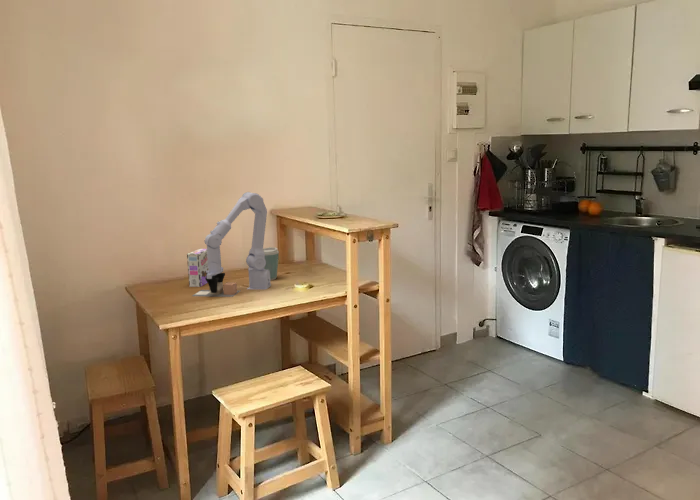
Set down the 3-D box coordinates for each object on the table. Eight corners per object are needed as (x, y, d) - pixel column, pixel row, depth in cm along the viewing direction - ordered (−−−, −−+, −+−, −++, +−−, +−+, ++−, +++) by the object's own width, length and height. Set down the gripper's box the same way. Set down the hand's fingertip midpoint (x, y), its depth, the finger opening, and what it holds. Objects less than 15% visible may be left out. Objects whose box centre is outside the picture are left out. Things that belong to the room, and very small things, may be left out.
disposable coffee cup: (271, 282, 282) (269, 251, 280) (254, 279, 288) (252, 249, 285) (284, 277, 291) (283, 247, 289) (267, 275, 297) (266, 246, 294)
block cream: (223, 292, 264) (222, 282, 263) (219, 294, 259) (218, 284, 259) (213, 291, 264) (213, 282, 264) (209, 294, 260) (209, 284, 259)
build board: (241, 291, 266) (241, 290, 266) (232, 298, 255) (232, 296, 255) (201, 291, 269) (201, 289, 269) (191, 297, 258) (191, 296, 258)
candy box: (200, 288, 275) (197, 253, 272) (188, 287, 276) (186, 253, 273) (213, 281, 288) (210, 248, 285) (201, 281, 289) (199, 248, 286)
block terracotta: (237, 292, 263) (236, 282, 262) (233, 294, 258) (232, 284, 258) (227, 292, 263) (226, 282, 263) (223, 294, 259) (223, 284, 258)
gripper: (212, 257, 267) (214, 286, 269) (199, 264, 253) (201, 295, 255) (226, 257, 266) (228, 287, 268) (214, 264, 252) (216, 295, 254)
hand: (216, 291), depth 262 cm, fingers open, 5 cm apart
